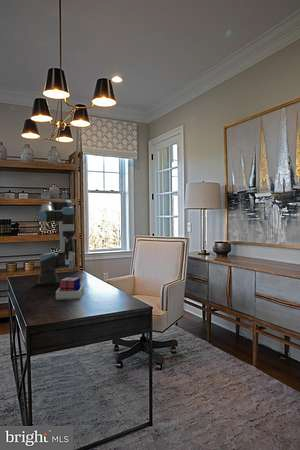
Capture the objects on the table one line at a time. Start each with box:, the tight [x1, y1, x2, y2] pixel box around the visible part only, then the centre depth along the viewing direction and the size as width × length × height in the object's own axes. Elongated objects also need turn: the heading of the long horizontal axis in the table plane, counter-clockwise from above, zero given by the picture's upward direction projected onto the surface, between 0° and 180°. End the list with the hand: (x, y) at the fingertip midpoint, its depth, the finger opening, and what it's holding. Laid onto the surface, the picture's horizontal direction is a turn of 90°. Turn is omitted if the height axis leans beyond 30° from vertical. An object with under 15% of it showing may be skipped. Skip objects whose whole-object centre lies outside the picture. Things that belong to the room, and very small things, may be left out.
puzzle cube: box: [59, 277, 81, 291], centre depth 218 cm, size 10×10×10 cm
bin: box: [55, 284, 85, 301], centre depth 218 cm, size 19×15×5 cm
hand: (69, 262), depth 220 cm, fingers open, 13 cm apart
